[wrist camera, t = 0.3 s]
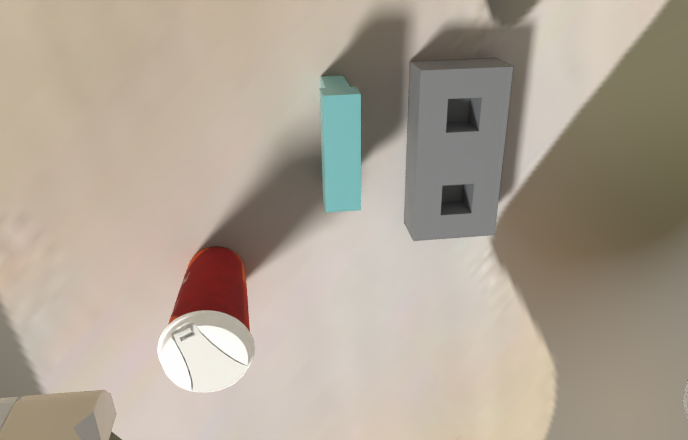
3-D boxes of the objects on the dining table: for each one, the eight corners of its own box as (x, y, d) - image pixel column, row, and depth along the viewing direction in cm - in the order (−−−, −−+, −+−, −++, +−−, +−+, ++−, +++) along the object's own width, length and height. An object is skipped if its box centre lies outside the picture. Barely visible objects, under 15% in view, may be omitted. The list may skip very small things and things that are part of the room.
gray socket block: (409, 61, 52) (420, 70, 49) (496, 58, 53) (513, 66, 50) (404, 222, 59) (413, 240, 56) (480, 217, 60) (494, 235, 57)
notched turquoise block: (314, 76, 52) (322, 95, 46) (348, 75, 52) (360, 94, 46) (318, 181, 56) (326, 212, 50) (349, 179, 57) (360, 210, 50)
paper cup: (161, 257, 58) (135, 346, 45) (231, 223, 57) (223, 304, 45) (203, 315, 61) (189, 412, 49) (269, 283, 61) (272, 374, 48)
